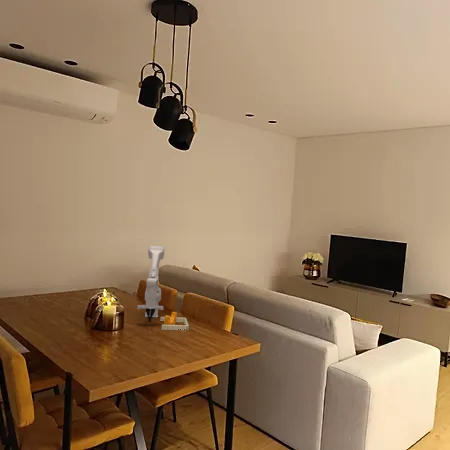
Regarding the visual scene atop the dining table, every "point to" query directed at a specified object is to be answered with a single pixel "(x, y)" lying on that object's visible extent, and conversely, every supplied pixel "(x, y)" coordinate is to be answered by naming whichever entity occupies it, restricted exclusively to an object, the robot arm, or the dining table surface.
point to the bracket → (176, 327)
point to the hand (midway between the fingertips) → (149, 321)
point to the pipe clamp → (170, 319)
